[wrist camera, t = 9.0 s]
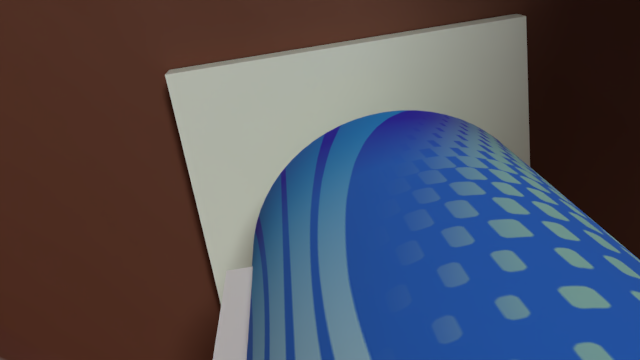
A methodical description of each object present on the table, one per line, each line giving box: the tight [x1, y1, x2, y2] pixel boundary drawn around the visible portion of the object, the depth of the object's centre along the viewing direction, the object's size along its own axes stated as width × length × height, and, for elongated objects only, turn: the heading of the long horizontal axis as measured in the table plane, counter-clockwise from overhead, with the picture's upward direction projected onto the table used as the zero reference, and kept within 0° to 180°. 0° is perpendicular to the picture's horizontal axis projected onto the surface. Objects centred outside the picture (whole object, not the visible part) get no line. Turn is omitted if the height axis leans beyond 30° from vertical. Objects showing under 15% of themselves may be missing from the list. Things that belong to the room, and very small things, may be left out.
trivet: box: [165, 14, 530, 303], centre depth 20 cm, size 11×11×1 cm
